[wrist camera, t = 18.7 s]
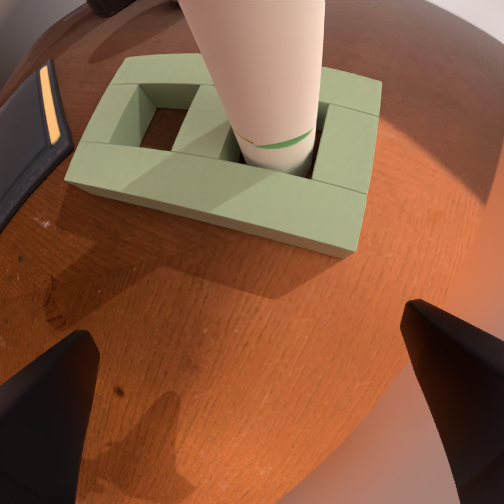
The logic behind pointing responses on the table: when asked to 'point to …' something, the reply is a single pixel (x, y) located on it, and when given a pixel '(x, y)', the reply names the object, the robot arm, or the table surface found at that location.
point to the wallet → (31, 138)
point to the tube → (265, 74)
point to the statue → (108, 6)
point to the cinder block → (230, 156)
